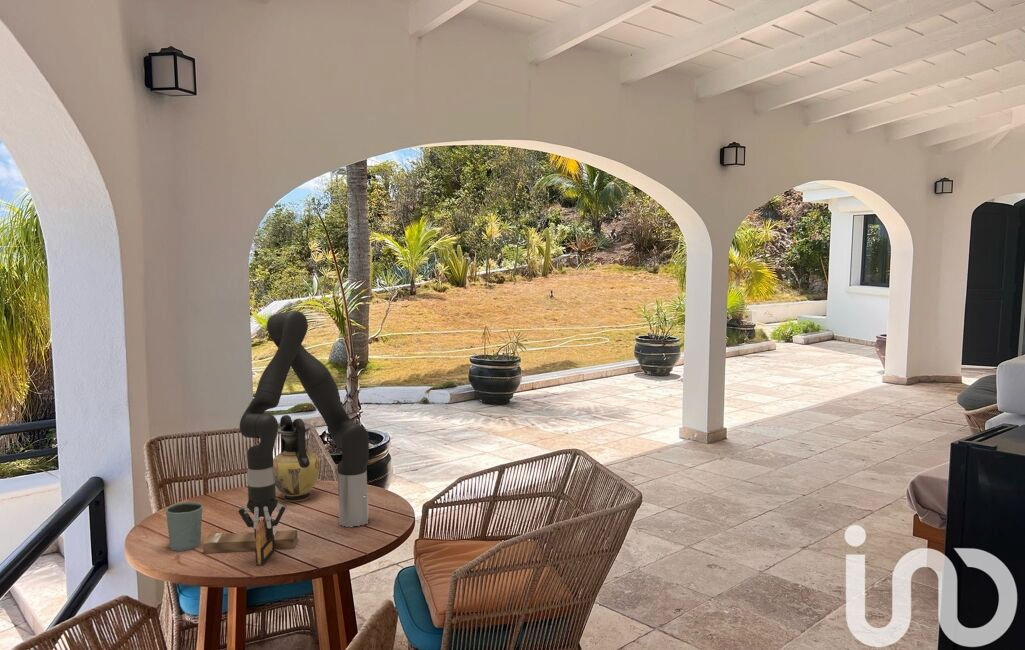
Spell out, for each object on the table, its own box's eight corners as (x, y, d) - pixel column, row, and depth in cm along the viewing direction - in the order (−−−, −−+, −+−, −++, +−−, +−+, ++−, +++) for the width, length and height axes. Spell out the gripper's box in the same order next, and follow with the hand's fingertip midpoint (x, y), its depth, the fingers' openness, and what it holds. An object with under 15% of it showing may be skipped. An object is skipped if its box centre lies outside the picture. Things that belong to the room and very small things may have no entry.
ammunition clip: (262, 565, 209) (259, 524, 208) (256, 565, 209) (253, 525, 208) (275, 550, 220) (272, 511, 218) (269, 550, 220) (266, 511, 219)
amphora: (261, 499, 265) (258, 417, 262) (300, 487, 279) (297, 409, 276) (292, 509, 255) (288, 424, 252) (331, 496, 268) (328, 415, 265)
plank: (297, 539, 228) (297, 529, 228) (293, 548, 221) (293, 537, 221) (210, 544, 225) (209, 533, 225) (203, 553, 218) (202, 542, 218)
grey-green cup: (163, 545, 224) (160, 507, 223) (196, 536, 231) (194, 499, 230) (175, 555, 217) (173, 515, 216) (209, 545, 224) (207, 507, 223)
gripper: (288, 476, 217) (290, 533, 218) (239, 479, 215) (242, 536, 217) (283, 484, 209) (286, 543, 211) (233, 487, 208) (236, 546, 209)
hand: (264, 539), depth 214 cm, fingers closed
